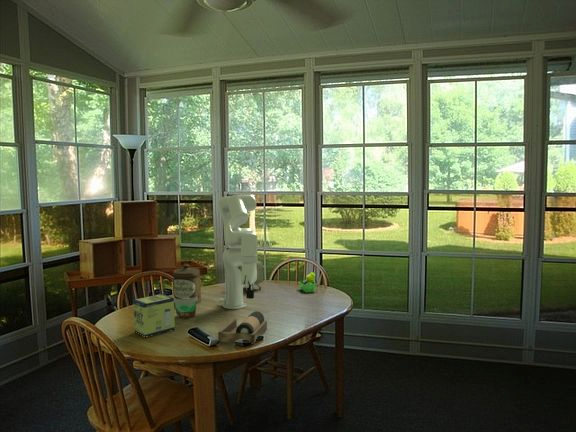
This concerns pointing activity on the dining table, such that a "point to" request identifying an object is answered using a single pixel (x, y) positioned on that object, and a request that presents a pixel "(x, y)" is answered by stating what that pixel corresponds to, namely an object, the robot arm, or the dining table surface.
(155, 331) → the protein box
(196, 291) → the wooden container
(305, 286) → the fruit basket
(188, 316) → the food container
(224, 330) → the tray
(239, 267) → the tabletop clock
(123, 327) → the dining table surface
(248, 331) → the travel mug
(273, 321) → the dining table surface
